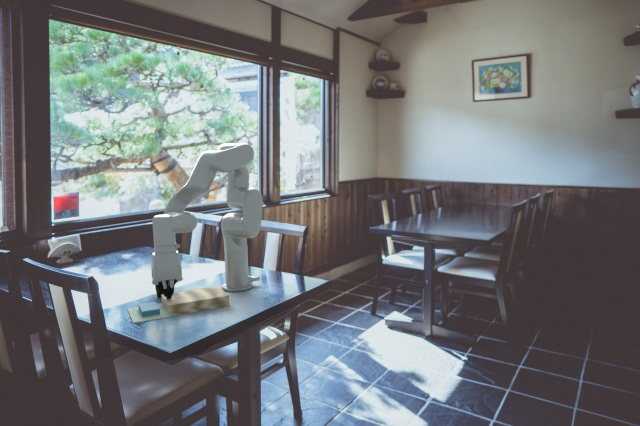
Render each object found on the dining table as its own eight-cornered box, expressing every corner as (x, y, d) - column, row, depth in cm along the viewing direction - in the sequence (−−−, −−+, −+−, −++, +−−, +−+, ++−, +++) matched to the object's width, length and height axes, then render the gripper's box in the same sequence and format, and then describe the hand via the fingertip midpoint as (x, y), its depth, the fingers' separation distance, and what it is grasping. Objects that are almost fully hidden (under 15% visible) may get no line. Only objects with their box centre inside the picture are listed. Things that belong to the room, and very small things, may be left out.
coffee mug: (173, 299, 190) (171, 274, 189) (151, 299, 190) (149, 274, 189) (181, 290, 202) (180, 266, 200) (160, 290, 202) (159, 267, 200)
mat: (161, 304, 185) (161, 303, 185) (169, 317, 171) (169, 316, 170) (127, 309, 179) (127, 308, 179) (133, 323, 165) (133, 322, 165)
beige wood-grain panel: (218, 295, 194) (218, 286, 193) (229, 305, 182) (229, 295, 181) (161, 304, 184) (161, 294, 183) (168, 316, 171) (168, 305, 171)
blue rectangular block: (138, 304, 177) (138, 309, 178) (142, 311, 170) (142, 317, 170) (155, 301, 180) (155, 306, 181) (159, 308, 172) (160, 314, 173)
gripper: (184, 244, 182) (187, 292, 184) (142, 249, 175) (145, 298, 178) (188, 248, 175) (191, 297, 178) (145, 253, 168) (148, 304, 171)
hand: (168, 297), depth 178 cm, fingers closed
